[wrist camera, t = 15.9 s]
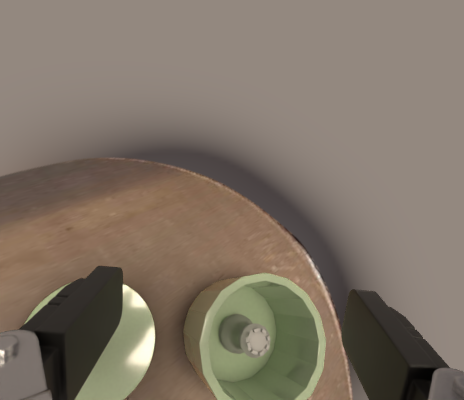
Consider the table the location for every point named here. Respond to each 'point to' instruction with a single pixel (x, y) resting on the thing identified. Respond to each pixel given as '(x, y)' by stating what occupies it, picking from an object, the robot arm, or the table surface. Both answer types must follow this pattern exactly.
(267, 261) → the table surface
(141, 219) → the table surface
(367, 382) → the robot arm
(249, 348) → the rook chess piece
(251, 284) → the jar
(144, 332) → the jar lid
